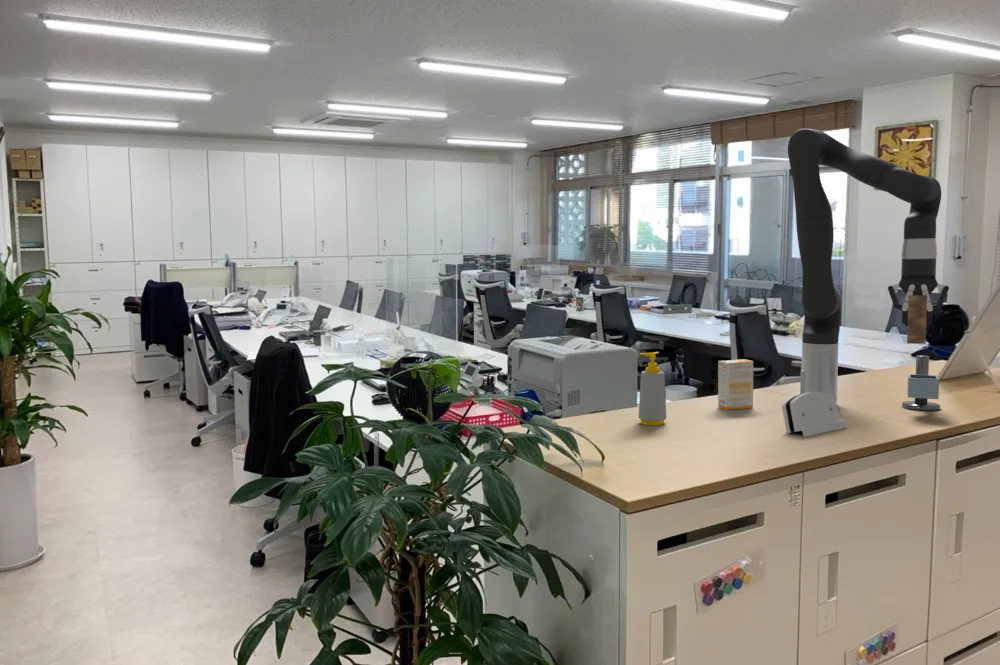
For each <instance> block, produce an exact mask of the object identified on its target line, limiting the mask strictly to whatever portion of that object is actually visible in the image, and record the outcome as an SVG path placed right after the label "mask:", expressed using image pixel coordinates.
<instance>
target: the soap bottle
mask: <svg viewBox="0 0 1000 665" xmlns="http://www.w3.org/2000/svg"><path fill="white" fill-rule="evenodd" d="M659 353H660V352H659V351H654V352H640V353H639V356H646V357H649V360H650V362H648V363H647V367H645V370H643V371H641V372H640V386H639V388H640V389H639V405H638V419H640V422H641V424H642V425H645V426H661V425H664V424H665V420H667V401H666V382H665V381H666V379H665V372H664V371H663V370H661V368H660V367H659V366H658V363H657V362H656V354H657V355H658V354H659Z"/></svg>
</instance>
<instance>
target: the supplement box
mask: <svg viewBox="0 0 1000 665" xmlns="http://www.w3.org/2000/svg"><path fill="white" fill-rule="evenodd" d="M717 364H718V365H717V367H718V368H717V369H718V371H717V372H718V373H717V374H718V375H717V376H718V377H717V378H718V379H717V381H718V382H717V384H718V385H717V390H718V392H717V394H718V395H717V399H718V400H717V401H718V402H717V403H718V404H717V407H718V408H720V409H723V410H726V411H730V410H741V409H743V410H744V409H753V407H754V360H749V359H745V358H744V359H743V358H742V359H741V358H740V359H729V360H726V359H725V360H718V363H717Z"/></svg>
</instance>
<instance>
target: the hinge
mask: <svg viewBox="0 0 1000 665" xmlns="http://www.w3.org/2000/svg"><path fill="white" fill-rule="evenodd" d="M781 409H782V414H783V420H784V425H785V430H786V434H791V433H796V432H802V436H803V437H805V438H806V437H811V436H816V435H820V434H819V433H821V434H824V433H823V432H826V433H828V432H827V431H830V432H833V431H832V430H835V431H838V430H837V429H840V430H843V429H842V428H844V429H847V427H848V425H847V421H846V419H844V418H843V417H841V414H840V411H839V410H838V407H837V405H836V404H835V401H834V399H833V397H832V395H830V394H827V393H823V392H807V393H803V394H800V393H799V394H797V395H794V396H792V397H791V398H789V399H787V400H786V401H785V402H784V403H782V406H781ZM815 434H816V435H815Z"/></svg>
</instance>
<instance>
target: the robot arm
mask: <svg viewBox="0 0 1000 665" xmlns="http://www.w3.org/2000/svg"><path fill="white" fill-rule="evenodd" d="M787 156H788V162H789V167H790V172H791V176H792V177H791V178H792V182H793V193H794V194H793V195H794V206H795V224H796V225H795V226H796V235H797V236H796V237H797V242H798V243H797V245H798V251H799V256H800V262H801V268H802V269H801V270H802V280H801V281H802V285H801V286H802V288H801V289H802V290H801V291H802V292H801V306H802V309H803V311H804V316H803V317H804V318H803V319H804V320H803V330H802V337H801V338H802V339H801V340H802V342H801V370H800V382H799V383H800V385H799V386H800V388H799V394H803V393H807V392H823V393H827V394H830V395H832V397H833V399H834V401H835V404H836V406H837V404H838V378H839V377H838V371H839V370H838V368H839V340H840V338H839V337H840V329H841V304H842V303H841V296H840V293H839V292H838V290H837V289H836V288H835V285H834V279H833V273H832V272H833V271H832V259H833V250H834V234H835V233H834V221H833V220H834V219H833V211H832V206H831V204H830V201H829V198H828V197H827V194H826V192H825V189H824V187H823V184H822V181H821V175H820V166H825V167H829V168H833V169H836V170H838V171H841V172H844V173H845V174H847V175H849V176H851V177H852V178H853V179H855V180H856V181H858V182H861V183H863V184H865V185H867V186H869V187H872V188H874V189H876V190H880V191H882V192H886V193H888V194H889V195H891V196H894V197H895V198H898V199H899V200H902V201H903V202H906V203H909V204H910V207H909V208H910V209H909V215H908V216H907V217H906V218H905V220H904V224H903V243H902V248H901V275H900V276H901V277H900V280H899V282H898V283H897V284H893V285H889V286H888V287H887V290H888V293H889V296H890V299H891V302H892V305H893V307H894V309H897V310H901V323H902V325H904V327H908V298H909V295H927V311H926V328H928V327H930V325H932V323H933V316H934V315H933V312H934V311H936V310H937V311H938V310H940V309H941V308H942V306H943V304H944V301H945V300H946V297H947V295H948V291H949V290H950V286H948V285H947V284H946V285H945V284H940V283H938V280H937V277H936V276H937V255H938V253H937V250H938V248H937V240H936V238H937V219H938V218H937V217H938V214H939V210H940V206H941V205H940V204H941V201H942V188H941V184H940V182H939V181H938V180H937V179H936V178H935V177H934V176H929V175H928V176H927V175H922V174H918V173H915V172H913V171H910V170H908V169H904V168H902V167H901V166H900V165H897V164H895V163H894V162H891V161H888V160H885V159H883V158H880V157H877V156H874V155H871V154H867V153H865V152H862V151H859V150H856V149H855V148H852V147H850V146H848V145H845V144H844V143H842V142H841V141H839V140H837V139H835V138H834V137H832V136H831V135H829V134H827V133H825V131H823V130H819V129H814V128H813V129H812V128H800V129H798V130H795V132H793V134H792V135H790V137H789V139H788V144H787ZM899 288H900V289H901V291H903V293H904V294H905V295H906V296H905V298H904V302H903V304H901V303H899V299H898V296H897V293H898V292H899ZM936 288H937V292H938V293H939V296H938V299H937V301H936V304H933V305H932V301H931V297H930V295H931V294H932V292H934V290H935V289H936Z"/></svg>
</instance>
